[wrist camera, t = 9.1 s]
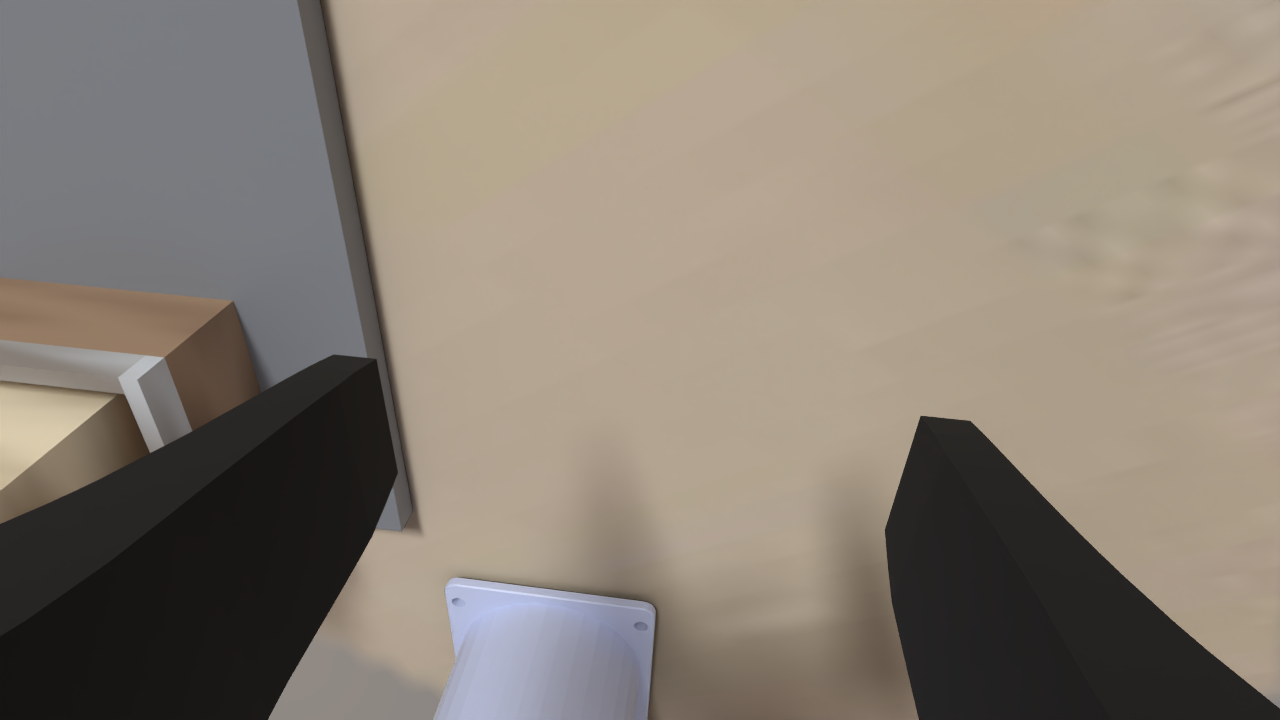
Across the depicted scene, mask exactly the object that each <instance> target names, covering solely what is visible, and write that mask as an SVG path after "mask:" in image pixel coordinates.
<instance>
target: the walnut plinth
mask: <svg viewBox="0 0 1280 720" xmlns="http://www.w3.org/2000/svg"><path fill="white" fill-rule="evenodd" d="M0 380H2V381H11V382H20V383H29V384H38V385H47V386H56V387H65V388H73V389H82V390H91V391H100V392H109V393H118V394H124V395H125V397H126V400H127V402H128V404H129V406H130V409H131V411H132V413H133V415H134V418H135V420H136V422H137V424H138V427H139V429H140V431H141V434H142V436H143V438H144V440H145V443H146V445H147V447H148V449H149V452H150V453H151V452H153V451H155V450H157V449H159V448H161V447H163V446H165V445H167V444H169V443H171V442H173V441H175V440H177V439H179V438H180V437H182V436H184V435H186V434H188V433H190V432H192V431H193V430H195V429H197V428H199V427H201V426H202V425H204V424H206V423H208V422H210V421H211V420H213V419H215V418H217V417H219V416H220V415H222V414H224V413H226V412H228V411H229V410H231V409H233V408H235V407H237V406H238V405H240V404H242V403H244V402H246V401H247V400H249V399H251V398H253V397H254V396H256V395H258V394H260V393H261V391H260V388H259V385H258V381H257V378H256V375H255V371H254V368H253V365H252V361H251V358H250V355H249V351H248V348H247V345H246V342H245V338H244V335H243V332H242V328H241V325H240V322H239V318H238V315H237V312H236V308H235V305H234V302H233V301H230V300H220V299H210V298H200V297H190V296H180V295H170V294H160V293H150V292H140V291H130V290H120V289H110V288H100V287H90V286H80V285H70V284H60V283H50V282H40V281H30V280H19V279H9V278H0Z"/></svg>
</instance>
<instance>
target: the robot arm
mask: <svg viewBox="0 0 1280 720" xmlns="http://www.w3.org/2000/svg"><path fill="white" fill-rule="evenodd" d="M397 474H398V469H397V464H396V459H395V454H394V448H393V443H392V438H391V432H390V427H389V422H388V417H387V411H386V406H385V401H384V395H383V390H382V385H381V380H380V374H379V369H378V364H377V359H373V358H364V357H354V356H345V355H335V354H333V355H331V356H329V357H327V358H325V359H323V360H321V361H318V362H317V363H315V364H313V365H311V366H309V367H307V368H305V369H303V370H301V371H299V372H297V373H296V374H294V375H292V376H290V377H288V378H286V379H285V380H283V381H281V382H279V383H278V384H276V385H274V386H272V387H270V388H269V389H267V390H265V391H263V392H262V393H260V394H258V395H256V396H254V397H253V398H251V399H249V400H247V401H246V402H244V403H242V404H240V405H238V406H237V407H235V408H233V409H231V410H229V411H228V412H226V413H224V414H222V415H220V416H219V417H217V418H215V419H213V420H211V421H210V422H208V423H206V424H204V425H202V426H201V427H199V428H197V429H195V430H193V431H192V432H190V433H188V434H186V435H184V436H182V437H180V438H179V439H177V440H175V441H173V442H171V443H169V444H167V445H165V446H163V447H161V448H159V449H157V450H155V451H153V452H151V453H149V454H147V455H145V456H144V457H142V458H140V459H138V460H136V461H134V462H132V463H130V464H128V465H126V466H124V467H122V468H120V469H118V470H116V471H114V472H112V473H110V474H109V475H107V476H105V477H103V478H101V479H99V480H97V481H95V482H92V483H90V484H88V485H86V486H84V487H82V488H80V489H78V490H76V491H74V492H71V493H69V494H67V495H65V496H63V497H61V498H58V499H56V500H54V501H52V502H50V503H47V504H45V505H43V506H41V507H38V508H36V509H34V510H31V511H29V512H27V513H24V514H22V515H20V516H17V517H15V518H13V519H10V520H8V521H6V522H4V523H1V524H0V720H268V718H269V716H270V714H271V712H272V711H273V709H274V707H275V705H276V703H277V701H278V699H279V697H280V696H281V694H282V692H283V690H284V688H285V686H286V684H287V682H288V680H289V679H290V677H291V676H292V673H293V672H294V670H295V669H296V667H297V665H298V663H299V662H300V660H301V658H302V657H303V655H304V653H305V652H306V650H307V648H308V646H309V645H310V643H311V641H312V640H313V638H314V636H315V635H316V633H317V631H318V629H319V628H320V626H321V624H322V623H323V621H324V619H325V617H326V616H327V614H328V612H329V611H330V609H331V607H332V605H333V604H334V602H335V600H336V599H337V597H338V595H339V594H340V592H341V590H342V588H343V587H344V585H345V583H346V581H347V580H348V578H349V576H350V574H351V573H352V571H353V569H354V568H355V566H356V564H357V562H358V561H359V559H360V557H361V555H362V554H363V552H364V550H365V548H366V546H367V545H368V543H369V541H370V539H371V537H372V535H373V533H374V531H375V528H376V526H377V524H378V521H379V519H380V517H381V514H382V512H383V510H384V507H385V505H386V502H387V500H388V497H389V495H390V492H391V490H392V487H393V485H394V482H395V479H396V477H397ZM885 537H886V548H887V560H888V571H889V580H890V589H891V598H892V604H893V609H894V613H895V618H896V623H897V627H898V631H899V636H900V640H901V645H902V649H903V653H904V658H905V662H906V666H907V671H908V675H909V679H910V683H911V688H912V692H913V696H914V700H915V705H916V709H917V713H918V717H919V720H1280V709H1279V708H1278V707H1277V706H1276V705H1274V704H1273V703H1272V702H1271V701H1270V700H1268V699H1267V698H1266V697H1265V696H1263V695H1262V694H1261V693H1260V692H1258V691H1257V690H1256V689H1255V688H1253V687H1252V686H1251V685H1250V684H1248V683H1247V682H1246V681H1245V680H1243V679H1242V678H1241V677H1240V676H1238V675H1237V674H1236V673H1235V672H1234V671H1232V670H1231V669H1230V668H1229V667H1227V666H1226V665H1225V664H1224V663H1222V662H1221V661H1220V660H1219V659H1217V658H1216V657H1215V656H1214V655H1212V654H1211V653H1210V652H1209V651H1207V650H1206V649H1205V648H1204V647H1203V646H1202V645H1200V644H1199V643H1198V642H1197V641H1196V640H1195V639H1193V638H1192V637H1191V636H1190V635H1189V634H1188V633H1186V632H1185V631H1184V630H1183V629H1182V628H1181V627H1179V626H1178V625H1177V624H1176V623H1175V622H1174V621H1172V620H1171V619H1170V618H1169V617H1168V616H1167V615H1166V614H1165V613H1164V612H1163V611H1161V610H1160V609H1159V608H1158V607H1157V606H1156V605H1155V604H1154V603H1153V602H1152V601H1150V600H1149V599H1148V598H1147V597H1146V596H1145V595H1144V594H1143V593H1142V592H1141V591H1139V590H1138V589H1137V588H1136V587H1135V586H1134V585H1133V584H1132V583H1131V582H1130V581H1128V580H1127V579H1126V578H1125V577H1124V576H1123V575H1122V574H1121V573H1120V572H1119V571H1118V570H1117V569H1116V568H1115V567H1114V566H1113V565H1111V564H1110V563H1109V562H1108V561H1107V560H1106V559H1105V558H1104V557H1103V556H1102V555H1101V554H1100V553H1099V552H1098V551H1097V550H1096V549H1095V548H1094V547H1093V546H1092V545H1091V544H1090V543H1089V542H1088V541H1087V540H1086V539H1085V538H1084V537H1083V536H1082V535H1081V534H1080V533H1079V532H1078V531H1077V530H1076V529H1075V528H1074V527H1073V526H1072V525H1071V524H1070V523H1069V522H1068V521H1067V520H1066V519H1065V518H1064V517H1063V516H1062V515H1061V514H1060V513H1059V512H1058V511H1057V510H1056V509H1055V508H1054V507H1053V506H1052V505H1051V504H1050V503H1049V502H1048V501H1047V500H1046V499H1045V498H1044V497H1043V496H1042V495H1041V494H1040V493H1039V492H1038V490H1037V489H1036V488H1035V487H1034V486H1033V485H1032V484H1031V483H1030V482H1029V481H1028V480H1027V479H1026V478H1025V477H1024V476H1023V475H1022V474H1021V473H1020V472H1019V471H1018V470H1017V468H1016V467H1015V466H1014V465H1013V464H1012V463H1011V462H1010V461H1009V460H1008V459H1007V458H1006V457H1005V456H1004V455H1003V454H1002V453H1001V452H1000V451H999V450H998V448H997V447H996V446H995V445H994V444H993V443H992V442H991V441H990V440H989V439H988V438H987V437H986V436H985V435H984V434H983V433H982V432H981V431H980V430H979V429H978V428H977V427H976V426H975V425H974V424H973V423H972V422H971V421H965V420H956V419H946V418H937V417H927V416H921V417H920V420H919V423H918V426H917V429H916V433H915V436H914V439H913V442H912V445H911V448H910V452H909V455H908V458H907V461H906V464H905V468H904V471H903V474H902V477H901V480H900V484H899V487H898V490H897V493H896V496H895V499H894V503H893V506H892V509H891V512H890V515H889V519H888V522H887V525H886V528H885ZM445 595H446V602H447V608H448V614H449V620H450V626H451V633H452V639H453V645H454V651H455V657H456V661H455V663H454V666H453V668H452V671H451V674H450V676H449V679H448V682H447V684H446V687H445V690H444V692H443V695H442V698H441V700H440V703H439V706H438V708H437V711H436V714H435V717H434V719H433V720H647V719H648V706H649V693H650V681H651V668H652V655H653V642H654V630H655V617H656V610H655V608H654V607H653V605H651V604H650V603H648V602H644V601H637V600H629V599H622V598H614V597H606V596H598V595H591V594H583V593H575V592H567V591H559V590H552V589H544V588H536V587H528V586H521V585H513V584H505V583H497V582H490V581H482V580H474V579H466V578H452V579H450V580H449V581H448V583H447V585H446V587H445Z"/></svg>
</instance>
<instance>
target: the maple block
mask: <svg viewBox="0 0 1280 720" xmlns="http://www.w3.org/2000/svg"><path fill="white" fill-rule="evenodd" d="M149 453H150V452H149V449H148V447H147V445H146V443H145V440H144V438H143V436H142V434H141V431H140V429H139V427H138V424H137V422H136V420H135V418H134V415H133V413H132V411H131V409H130V406H129V404H128V402H127V400H126V397H125V395H124V394H118V393H109V392H100V391H91V390H82V389H73V388H65V387H56V386H47V385H38V384H29V383H20V382H11V381H2V380H0V524H1V523H4V522H6V521H8V520H10V519H13V518H15V517H17V516H20V515H22V514H24V513H27V512H29V511H31V510H34V509H36V508H38V507H41V506H43V505H45V504H47V503H50V502H52V501H54V500H56V499H58V498H61V497H63V496H65V495H67V494H69V493H71V492H74V491H76V490H78V489H80V488H82V487H84V486H86V485H88V484H90V483H92V482H95V481H97V480H99V479H101V478H103V477H105V476H107V475H109V474H110V473H112V472H114V471H116V470H118V469H120V468H122V467H124V466H126V465H128V464H130V463H132V462H134V461H136V460H138V459H140V458H142V457H144V456H145V455H147V454H149Z"/></svg>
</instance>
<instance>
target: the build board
mask: <svg viewBox="0 0 1280 720" xmlns="http://www.w3.org/2000/svg"><path fill="white" fill-rule="evenodd" d="M0 278H9V279H19V280H30V281H40V282H50V283H60V284H70V285H80V286H90V287H100V288H110V289H120V290H130V291H140V292H150V293H160V294H170V295H180V296H190V297H200V298H210V299H220V300H230V301H233V302H234V305H235V308H236V312H237V315H238V318H239V322H240V325H241V328H242V332H243V335H244V338H245V342H246V345H247V348H248V351H249V355H250V358H251V361H252V365H253V368H254V371H255V375H256V378H257V381H258V385H259V388H260V391H261V393H262V392H263V391H265V390H267V389H269V388H270V387H272V386H274V385H276V384H278V383H279V382H281V381H283V380H285V379H286V378H288V377H290V376H292V375H294V374H296V373H297V372H299V371H301V370H303V369H305V368H307V367H309V366H311V365H313V364H315V363H317V362H318V361H321V360H323V359H325V358H327V357H329V356H331V355H333V354H335V355H345V356H354V357H364V358H373V359H377V364H378V369H379V374H380V380H381V385H382V390H383V395H384V401H385V406H386V411H387V417H388V422H389V427H390V432H391V438H392V443H393V448H394V454H395V459H396V464H397V469H398V474H397V477H396V479H395V482H394V485H393V487H392V490H391V492H390V495H389V497H388V500H387V502H386V505H385V507H384V510H383V512H382V514H381V517H380V519H379V521H378V524H377V526H376V528H377V529H385V530H393V531H401V532H402V530H403V528H404V526H405V525H406V523H407V521H408V519H409V517H410V515H411V513H412V511H413V510H412V505H411V499H410V494H409V488H408V483H407V477H406V472H405V466H404V461H403V455H402V450H401V444H400V439H399V433H398V428H397V422H396V417H395V411H394V406H393V400H392V395H391V389H390V383H389V378H388V372H387V367H386V361H385V356H384V350H383V345H382V339H381V334H380V328H379V323H378V317H377V312H376V306H375V301H374V295H373V290H372V284H371V279H370V273H369V268H368V262H367V257H366V251H365V246H364V240H363V235H362V229H361V224H360V218H359V213H358V207H357V202H356V196H355V191H354V185H353V180H352V174H351V169H350V163H349V158H348V152H347V147H346V141H345V136H344V130H343V125H342V119H341V114H340V108H339V103H338V97H337V92H336V86H335V81H334V75H333V70H332V64H331V59H330V53H329V48H328V42H327V37H326V31H325V26H324V20H323V15H322V9H321V4H320V0H0Z"/></svg>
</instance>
